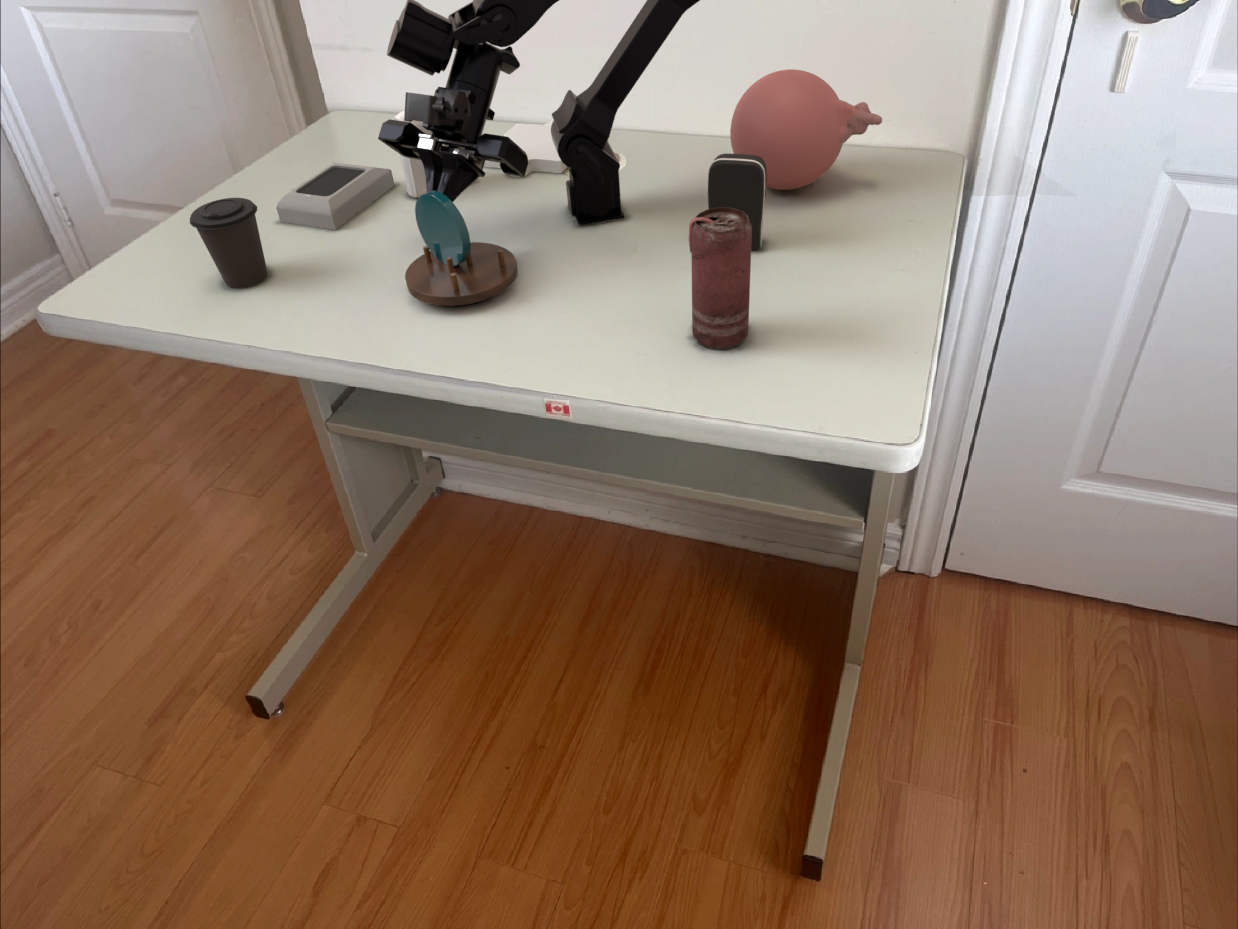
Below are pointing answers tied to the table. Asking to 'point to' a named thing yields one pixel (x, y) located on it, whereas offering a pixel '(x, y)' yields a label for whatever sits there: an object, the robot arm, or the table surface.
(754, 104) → the round balloon
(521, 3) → the robot arm
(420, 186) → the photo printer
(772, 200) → the table surface
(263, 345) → the table surface
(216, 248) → the coffee cup
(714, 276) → the worn red soda can
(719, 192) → the black rounded block
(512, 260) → the dish rack
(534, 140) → the mounting plate
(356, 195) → the grey flat block
